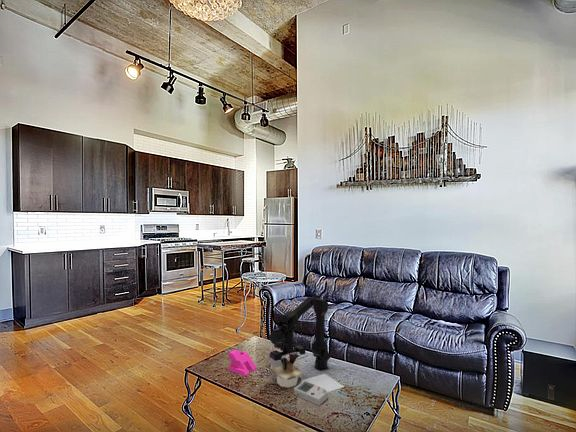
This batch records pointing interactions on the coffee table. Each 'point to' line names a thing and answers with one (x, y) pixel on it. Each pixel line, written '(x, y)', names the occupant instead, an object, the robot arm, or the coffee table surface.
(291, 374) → the lid
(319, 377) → the mat
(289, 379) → the bowl
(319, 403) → the handheld gaming device
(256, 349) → the coffee table surface
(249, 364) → the bracket
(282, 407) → the coffee table surface
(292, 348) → the robot arm
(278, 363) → the mug
